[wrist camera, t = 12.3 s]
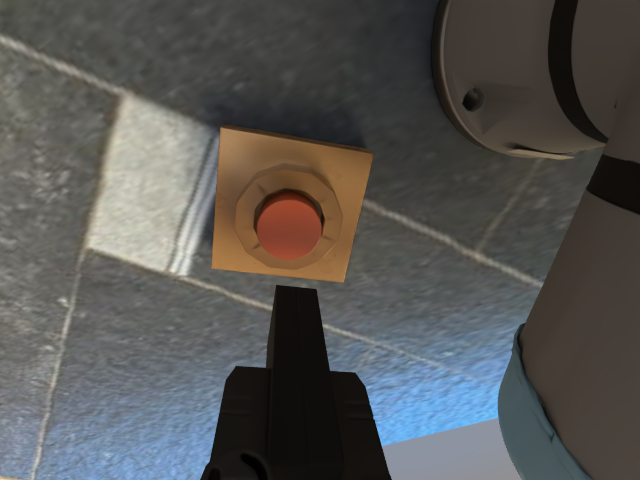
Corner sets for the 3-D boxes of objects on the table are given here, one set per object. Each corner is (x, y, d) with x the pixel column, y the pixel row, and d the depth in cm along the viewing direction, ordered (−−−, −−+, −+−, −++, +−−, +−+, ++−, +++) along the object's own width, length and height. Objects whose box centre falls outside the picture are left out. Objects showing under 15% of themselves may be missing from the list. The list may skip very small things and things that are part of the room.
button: (262, 187, 22) (260, 195, 20) (324, 196, 22) (327, 204, 21) (255, 244, 23) (253, 256, 21) (313, 251, 24) (315, 263, 22)
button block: (225, 123, 23) (214, 130, 20) (367, 148, 25) (381, 158, 21) (216, 255, 27) (205, 281, 23) (339, 269, 29) (347, 295, 25)
